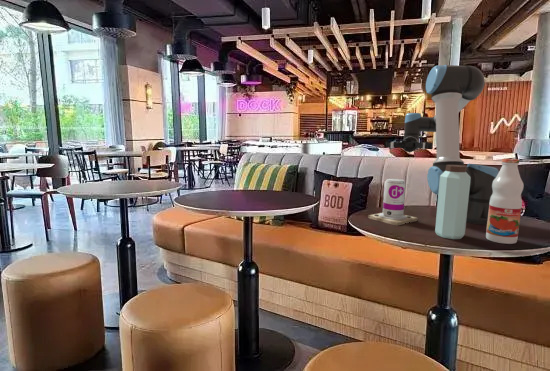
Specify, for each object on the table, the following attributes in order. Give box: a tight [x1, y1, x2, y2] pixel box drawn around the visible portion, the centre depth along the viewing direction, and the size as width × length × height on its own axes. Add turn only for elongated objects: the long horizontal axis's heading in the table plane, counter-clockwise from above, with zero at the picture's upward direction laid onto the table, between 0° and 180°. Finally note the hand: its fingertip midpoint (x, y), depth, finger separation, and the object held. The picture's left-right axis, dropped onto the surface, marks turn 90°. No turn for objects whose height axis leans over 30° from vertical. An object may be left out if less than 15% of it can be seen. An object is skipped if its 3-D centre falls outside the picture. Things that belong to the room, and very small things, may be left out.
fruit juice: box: [485, 158, 525, 245], centre depth 129 cm, size 9×9×28 cm
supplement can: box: [382, 178, 407, 218], centre depth 156 cm, size 8×8×15 cm
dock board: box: [367, 212, 418, 226], centre depth 157 cm, size 14×14×2 cm
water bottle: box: [434, 165, 471, 240], centre depth 133 cm, size 10×10×25 cm
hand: (407, 145), depth 169 cm, fingers open, 13 cm apart
